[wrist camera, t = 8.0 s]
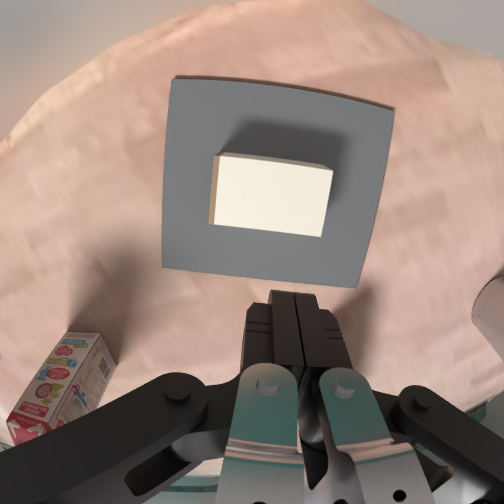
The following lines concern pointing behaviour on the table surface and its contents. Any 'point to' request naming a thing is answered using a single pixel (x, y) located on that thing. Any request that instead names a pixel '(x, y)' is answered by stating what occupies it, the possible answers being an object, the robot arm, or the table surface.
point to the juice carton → (63, 386)
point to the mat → (278, 146)
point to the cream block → (269, 193)
